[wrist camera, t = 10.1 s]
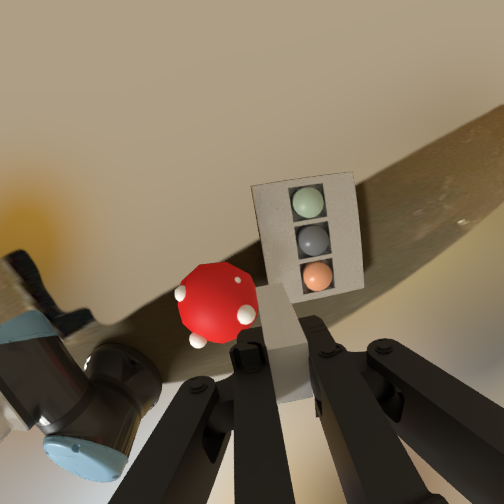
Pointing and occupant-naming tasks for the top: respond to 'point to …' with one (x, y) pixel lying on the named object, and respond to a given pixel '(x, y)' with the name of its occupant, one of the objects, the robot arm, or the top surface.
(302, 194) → the button sage
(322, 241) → the button charcoal
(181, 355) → the top surface
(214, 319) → the mushroom
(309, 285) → the button terracotta
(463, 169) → the top surface
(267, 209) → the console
